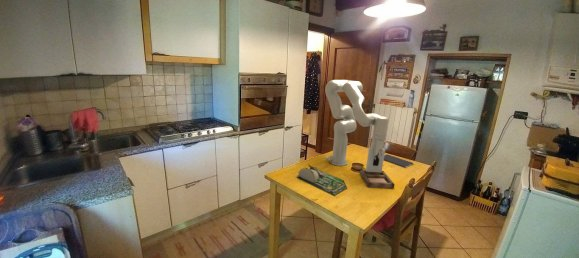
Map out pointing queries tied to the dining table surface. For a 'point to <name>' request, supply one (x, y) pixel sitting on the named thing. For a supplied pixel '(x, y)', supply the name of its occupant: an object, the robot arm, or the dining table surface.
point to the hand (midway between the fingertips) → (374, 164)
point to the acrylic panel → (371, 158)
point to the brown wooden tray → (366, 175)
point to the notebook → (397, 161)
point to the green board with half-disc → (322, 180)
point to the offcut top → (377, 180)
